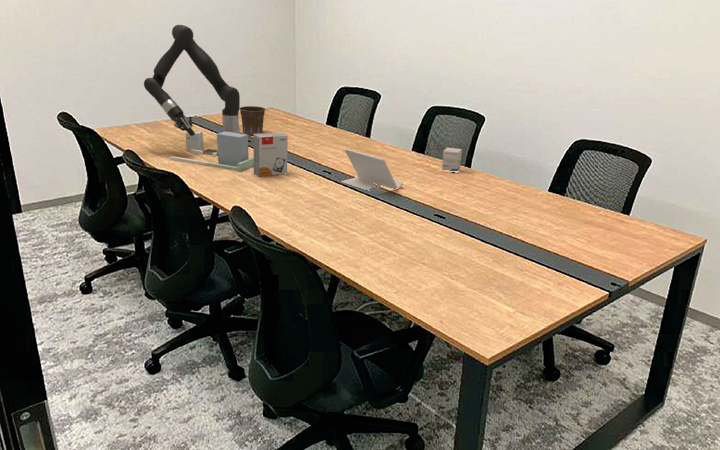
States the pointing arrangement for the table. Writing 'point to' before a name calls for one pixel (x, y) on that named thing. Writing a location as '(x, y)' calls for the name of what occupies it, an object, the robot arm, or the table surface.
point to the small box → (194, 141)
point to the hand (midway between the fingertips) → (193, 134)
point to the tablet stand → (370, 172)
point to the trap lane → (241, 165)
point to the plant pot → (252, 119)
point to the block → (232, 148)
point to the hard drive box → (270, 153)
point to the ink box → (451, 159)
